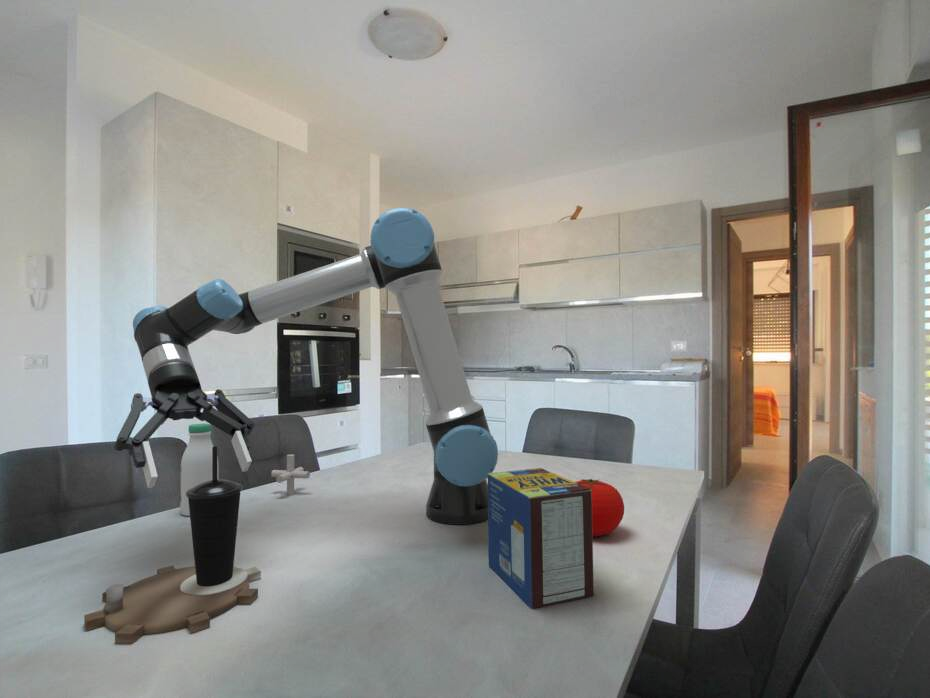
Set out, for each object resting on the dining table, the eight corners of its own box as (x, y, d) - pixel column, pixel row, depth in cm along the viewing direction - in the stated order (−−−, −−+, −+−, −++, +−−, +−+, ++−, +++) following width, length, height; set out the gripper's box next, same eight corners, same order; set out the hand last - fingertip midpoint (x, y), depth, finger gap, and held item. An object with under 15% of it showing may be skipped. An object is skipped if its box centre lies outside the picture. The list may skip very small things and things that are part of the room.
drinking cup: (204, 596, 68) (204, 453, 68) (175, 583, 72) (175, 448, 72) (253, 575, 74) (253, 444, 75) (224, 564, 78) (224, 440, 79)
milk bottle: (226, 508, 113) (226, 423, 113) (195, 518, 106) (195, 427, 106) (203, 505, 116) (203, 421, 116) (172, 514, 109) (172, 425, 109)
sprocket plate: (286, 568, 80) (286, 542, 80) (210, 645, 58) (210, 610, 58) (159, 566, 81) (159, 541, 81) (38, 641, 59) (38, 607, 60)
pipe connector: (297, 500, 119) (297, 459, 119) (261, 498, 121) (261, 458, 121) (317, 489, 129) (317, 452, 129) (284, 488, 131) (284, 451, 131)
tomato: (573, 519, 103) (572, 470, 104) (629, 528, 98) (628, 476, 98) (554, 537, 93) (553, 482, 93) (616, 548, 87) (615, 490, 87)
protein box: (542, 556, 84) (541, 467, 84) (595, 597, 70) (593, 488, 70) (486, 565, 80) (485, 472, 81) (530, 610, 66) (529, 496, 66)
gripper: (237, 387, 97) (272, 473, 86) (80, 394, 78) (100, 506, 68) (249, 360, 93) (287, 447, 83) (87, 361, 75) (109, 473, 64)
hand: (203, 474), depth 75 cm, fingers open, 13 cm apart
